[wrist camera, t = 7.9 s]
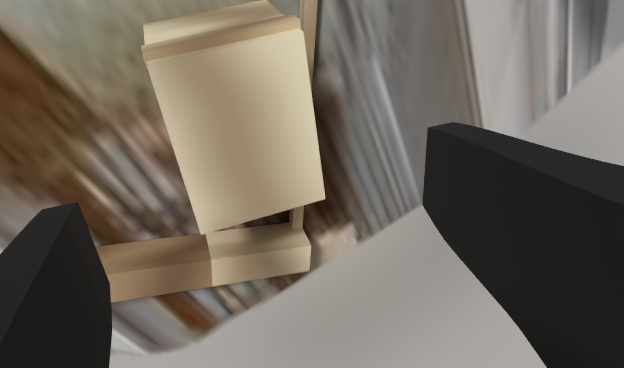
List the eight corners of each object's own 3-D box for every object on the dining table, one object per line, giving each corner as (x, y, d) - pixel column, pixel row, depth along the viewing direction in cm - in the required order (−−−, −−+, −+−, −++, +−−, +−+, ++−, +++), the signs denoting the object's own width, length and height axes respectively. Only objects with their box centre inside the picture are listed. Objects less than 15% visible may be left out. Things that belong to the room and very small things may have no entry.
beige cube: (265, -9, 18) (303, 22, 14) (290, 144, 22) (327, 204, 18) (139, 16, 17) (142, 57, 13) (187, 171, 21) (201, 240, 17)
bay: (322, -169, 16) (344, -175, 14) (297, 245, 25) (309, 271, 23) (-551, -273, 10) (-680, -303, 9) (-188, 314, 19) (-218, 355, 17)
